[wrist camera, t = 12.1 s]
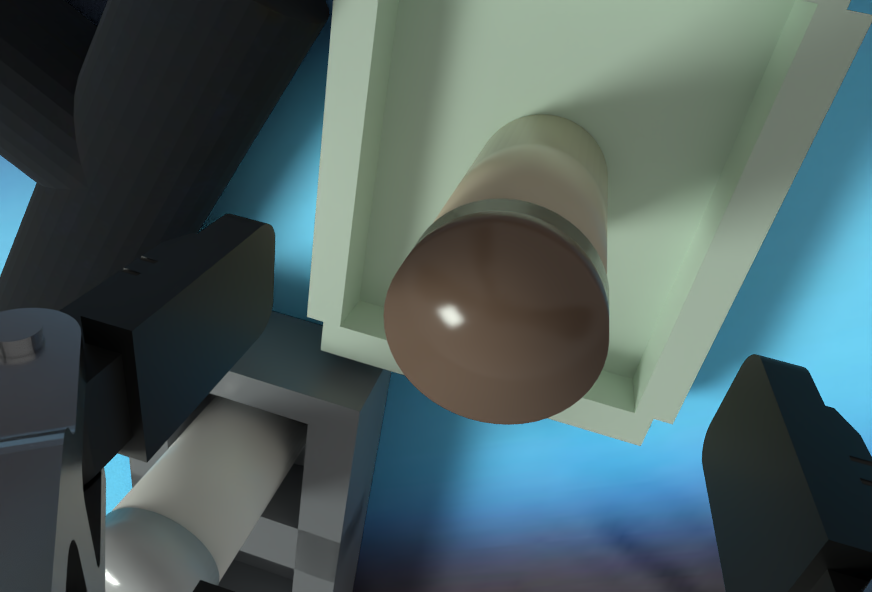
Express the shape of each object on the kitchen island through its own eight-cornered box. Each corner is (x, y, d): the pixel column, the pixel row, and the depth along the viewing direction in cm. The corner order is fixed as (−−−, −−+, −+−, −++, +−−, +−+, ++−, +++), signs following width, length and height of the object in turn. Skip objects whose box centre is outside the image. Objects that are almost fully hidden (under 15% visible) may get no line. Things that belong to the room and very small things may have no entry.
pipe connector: (-220, 173, 20) (-171, -351, 13) (-71, 132, 25) (31, -272, 17) (78, 385, 22) (278, 34, 14) (167, 311, 26) (355, 14, 19)
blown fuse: (489, 97, 18) (400, 201, 10) (629, 131, 18) (644, 266, 10) (462, 224, 20) (371, 388, 12) (586, 257, 20) (570, 449, 12)
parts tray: (380, -139, 16) (345, -155, 14) (863, -46, 15) (905, -47, 13) (331, 310, 24) (304, 345, 22) (654, 404, 22) (658, 451, 20)
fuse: (225, 354, 25) (54, 530, 17) (321, 383, 24) (189, 578, 17) (225, 429, 27) (72, 617, 19) (314, 457, 26) (192, 662, 19)
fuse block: (183, 285, 25) (116, 335, 21) (395, 347, 24) (359, 411, 20) (193, 541, 33) (145, 608, 30) (351, 596, 32) (320, 672, 28)
